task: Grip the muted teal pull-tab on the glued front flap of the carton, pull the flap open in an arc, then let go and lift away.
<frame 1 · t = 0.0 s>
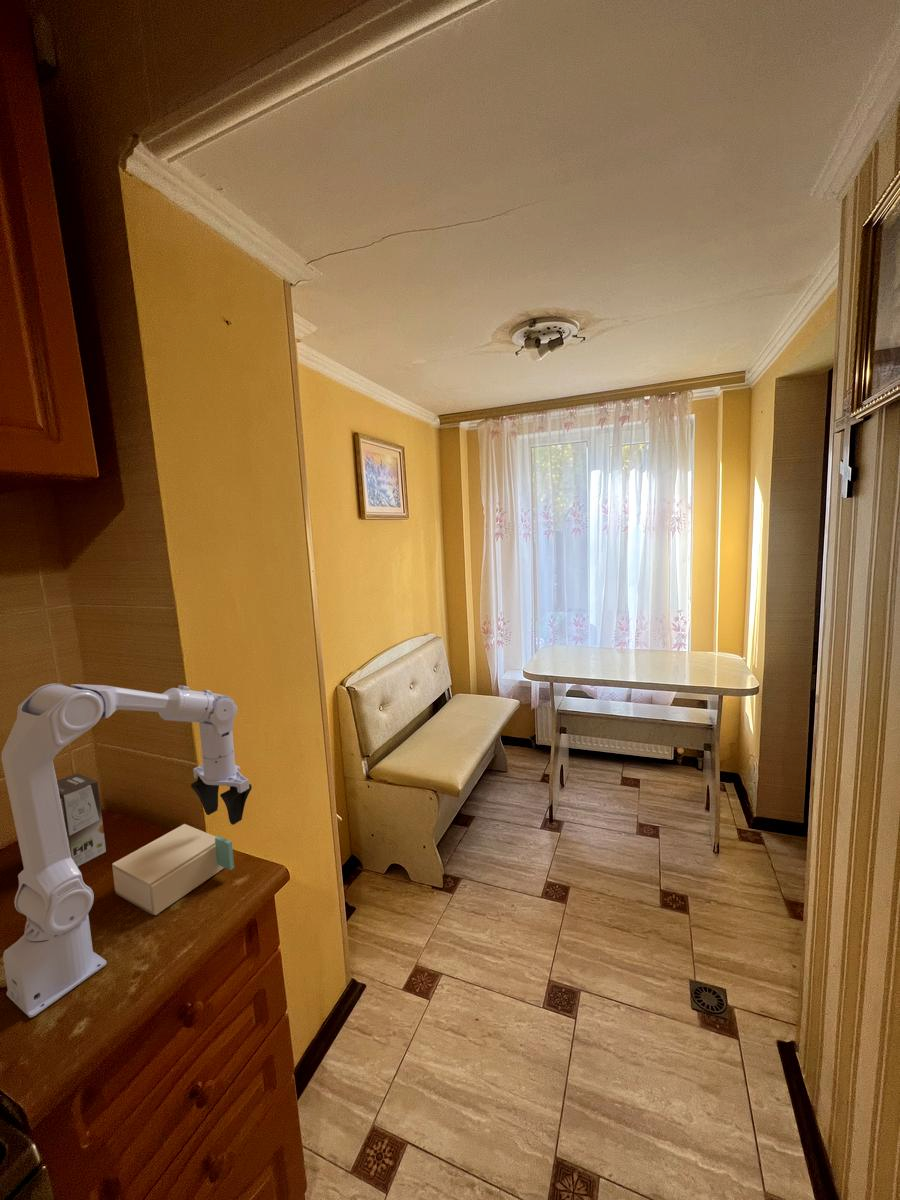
hand: (223, 817, 94), 10 cm above the countertop, tool pointing down, fingers open, 7 cm apart
flap: (197, 874, 86), point 4 cm above the countertop, hinge at 0.0°
coffee box: (79, 855, 99), on the countertop
carton: (171, 879, 91), on the countertop
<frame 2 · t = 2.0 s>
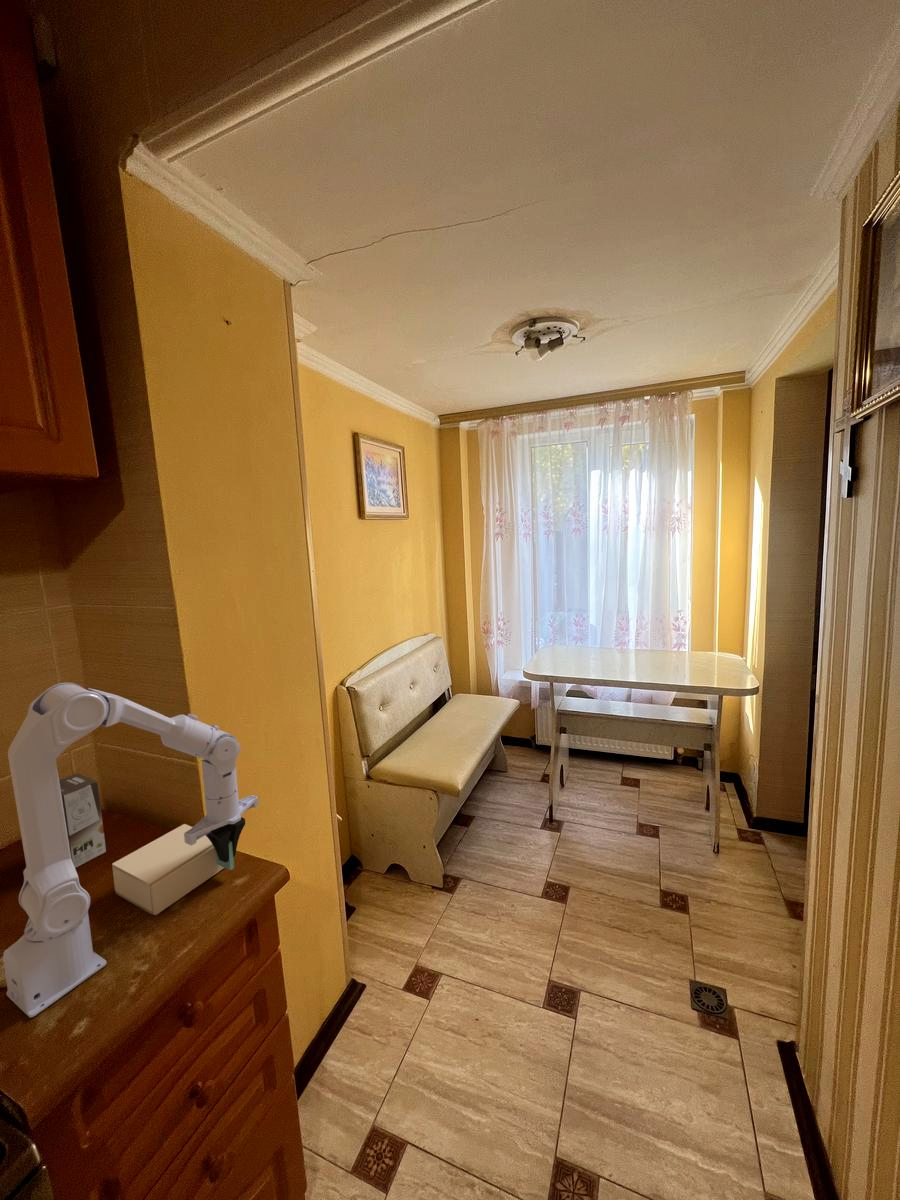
hand: (227, 858, 91), 4 cm above the countertop, tool pointing down, fingers closed, pressing on flap
flap: (197, 874, 86), point 4 cm above the countertop, hinge at 0.1°, touching gripper
everything else where it was.
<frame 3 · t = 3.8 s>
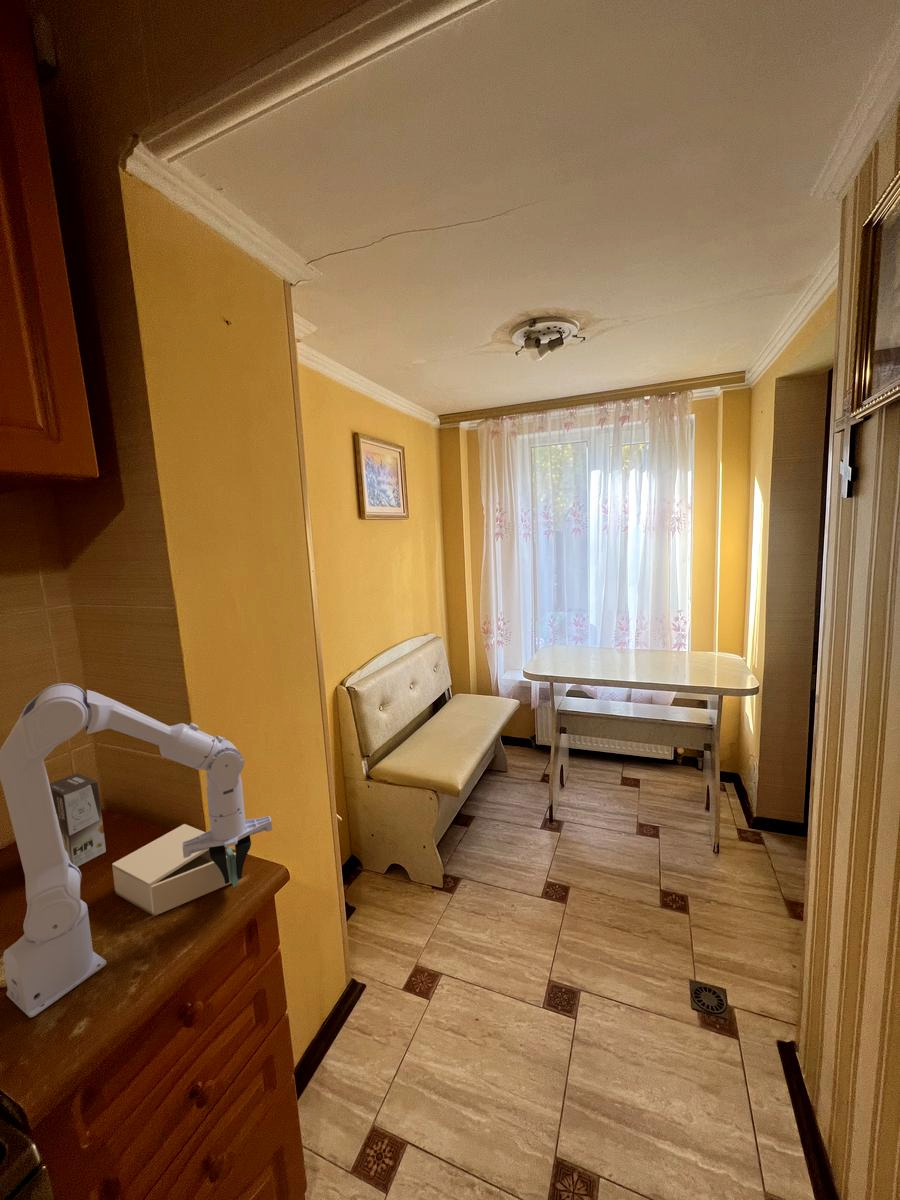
hand: (232, 878, 85), 4 cm above the countertop, tool pointing down, fingers closed
flap: (199, 883, 84), point 4 cm above the countertop, hinge at 24.6°, touching gripper
everything else where it was.
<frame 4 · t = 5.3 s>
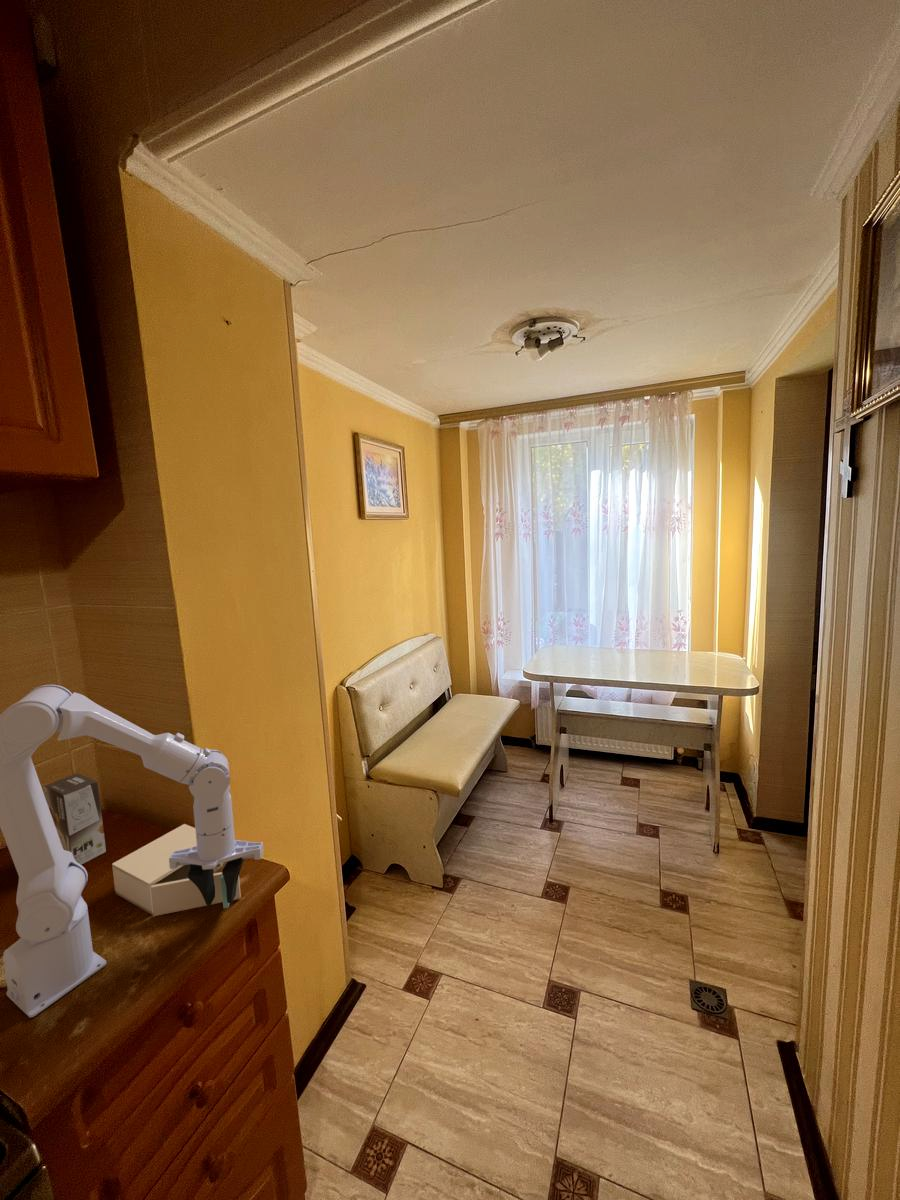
hand: (221, 899, 80), 4 cm above the countertop, tool pointing down, fingers open, 3 cm apart
flap: (193, 895, 81), point 4 cm above the countertop, hinge at 47.2°
everything else where it was.
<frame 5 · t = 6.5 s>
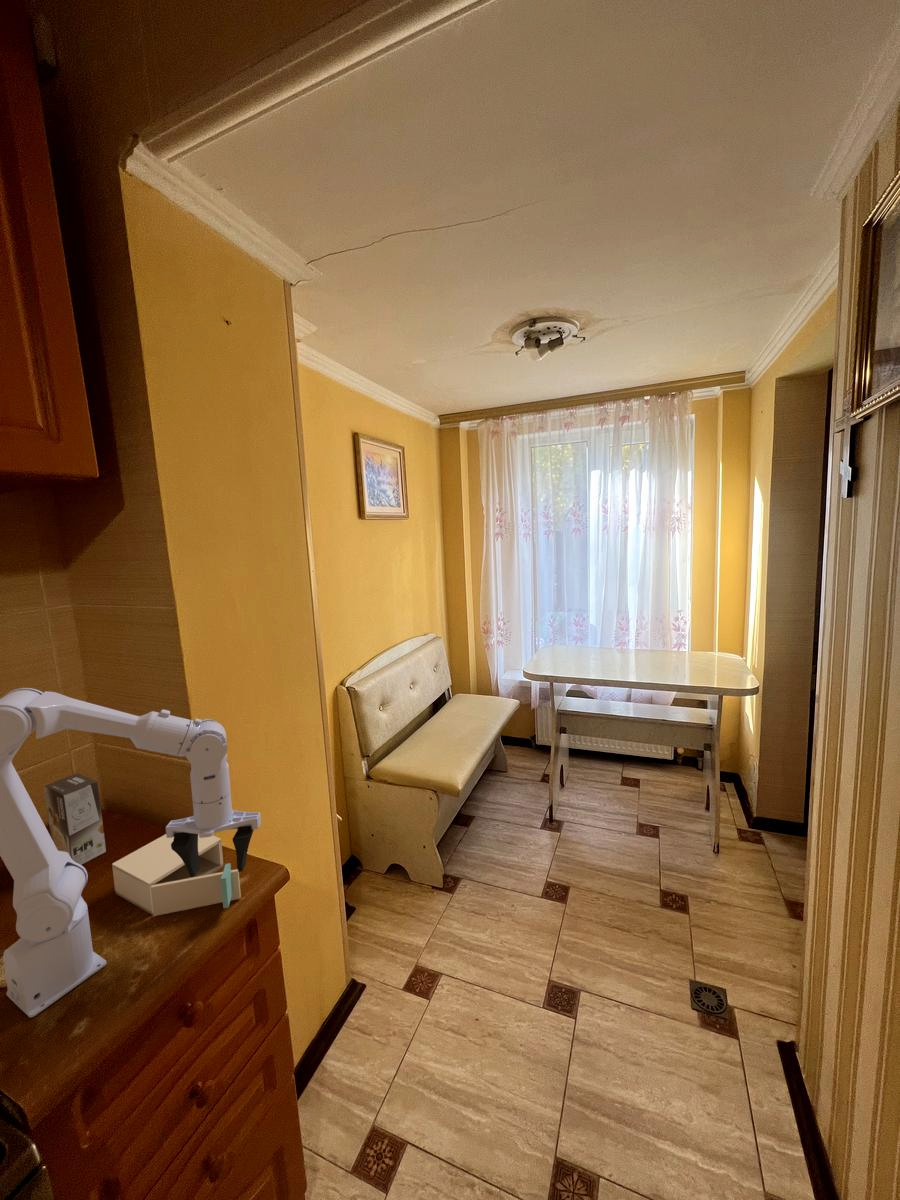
hand: (218, 870, 79), 9 cm above the countertop, tool pointing down, fingers open, 7 cm apart
nothing on the countertop moved.
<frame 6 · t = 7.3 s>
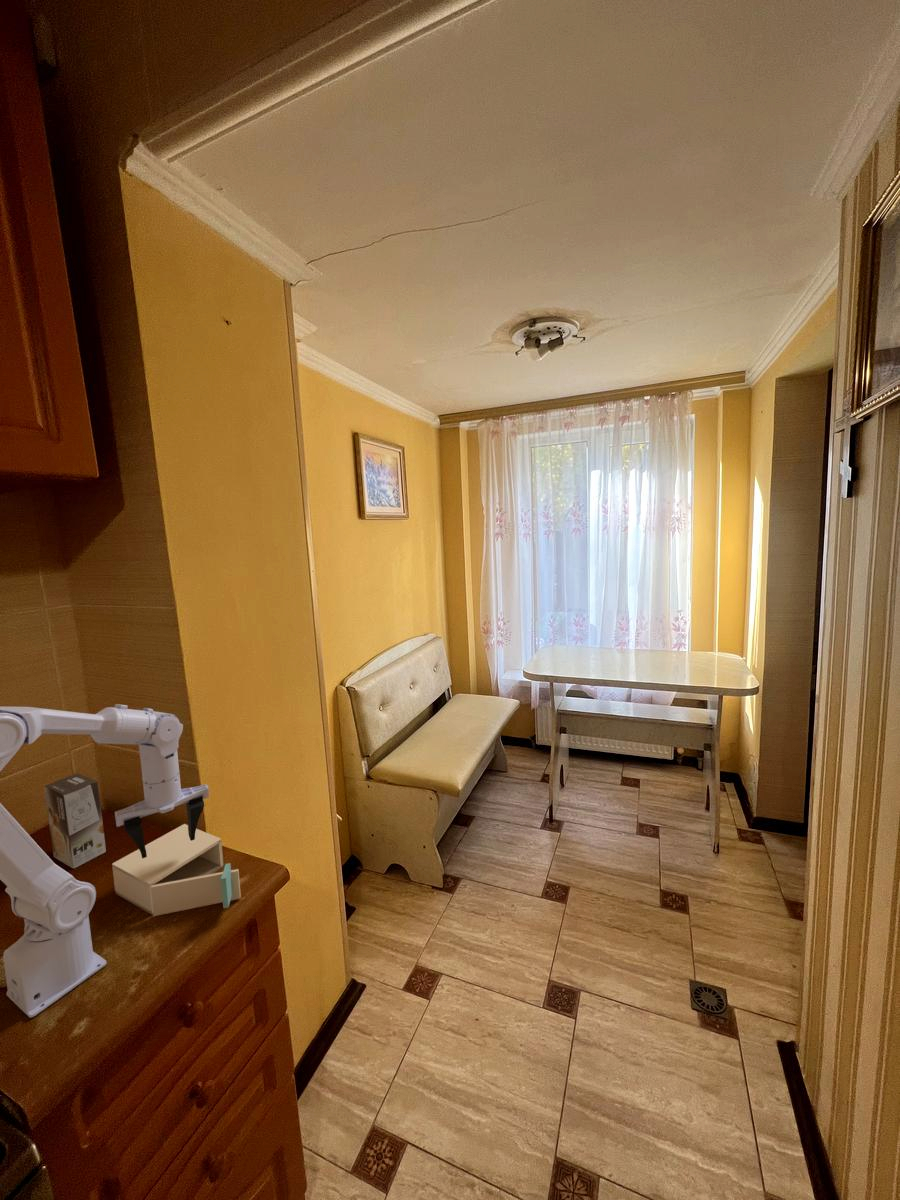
hand: (168, 846, 86), 9 cm above the countertop, tool pointing down, fingers open, 7 cm apart
nothing on the countertop moved.
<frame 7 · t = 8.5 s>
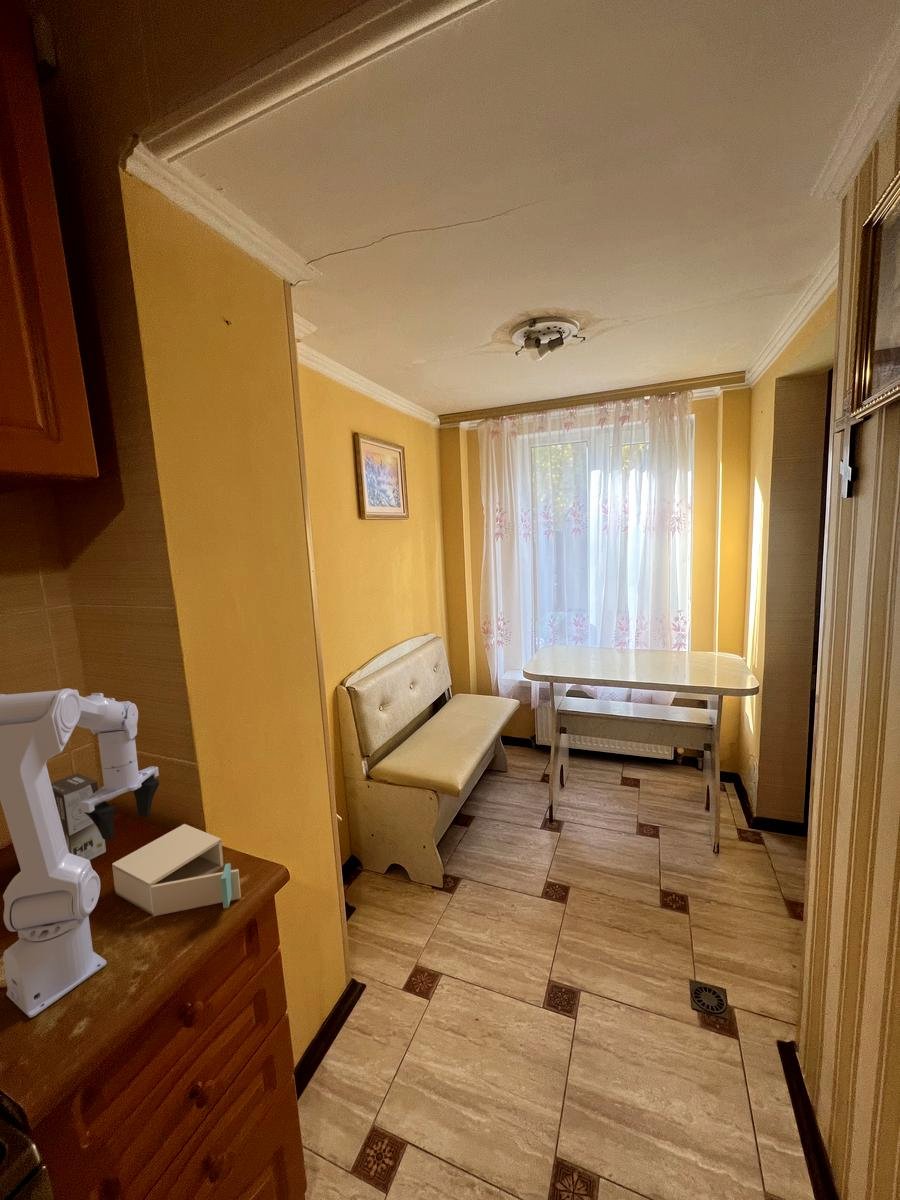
hand: (126, 826, 93), 9 cm above the countertop, tool pointing down, fingers open, 7 cm apart
nothing on the countertop moved.
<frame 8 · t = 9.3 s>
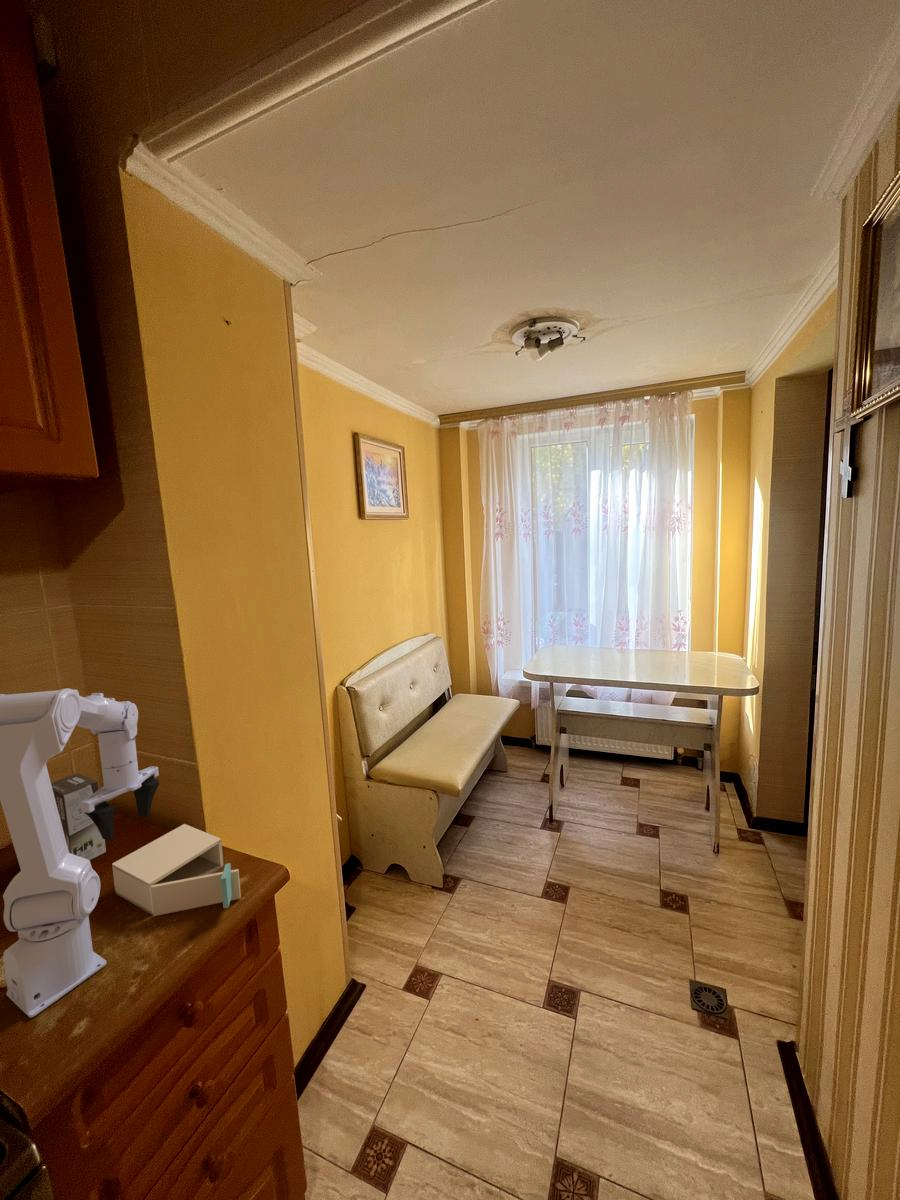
hand: (126, 826, 93), 9 cm above the countertop, tool pointing down, fingers open, 7 cm apart
nothing on the countertop moved.
at the end: flap at +47° (first picture: +0°); the gripper is holding nothing; coffee box moved 0.2 cm from its start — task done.
